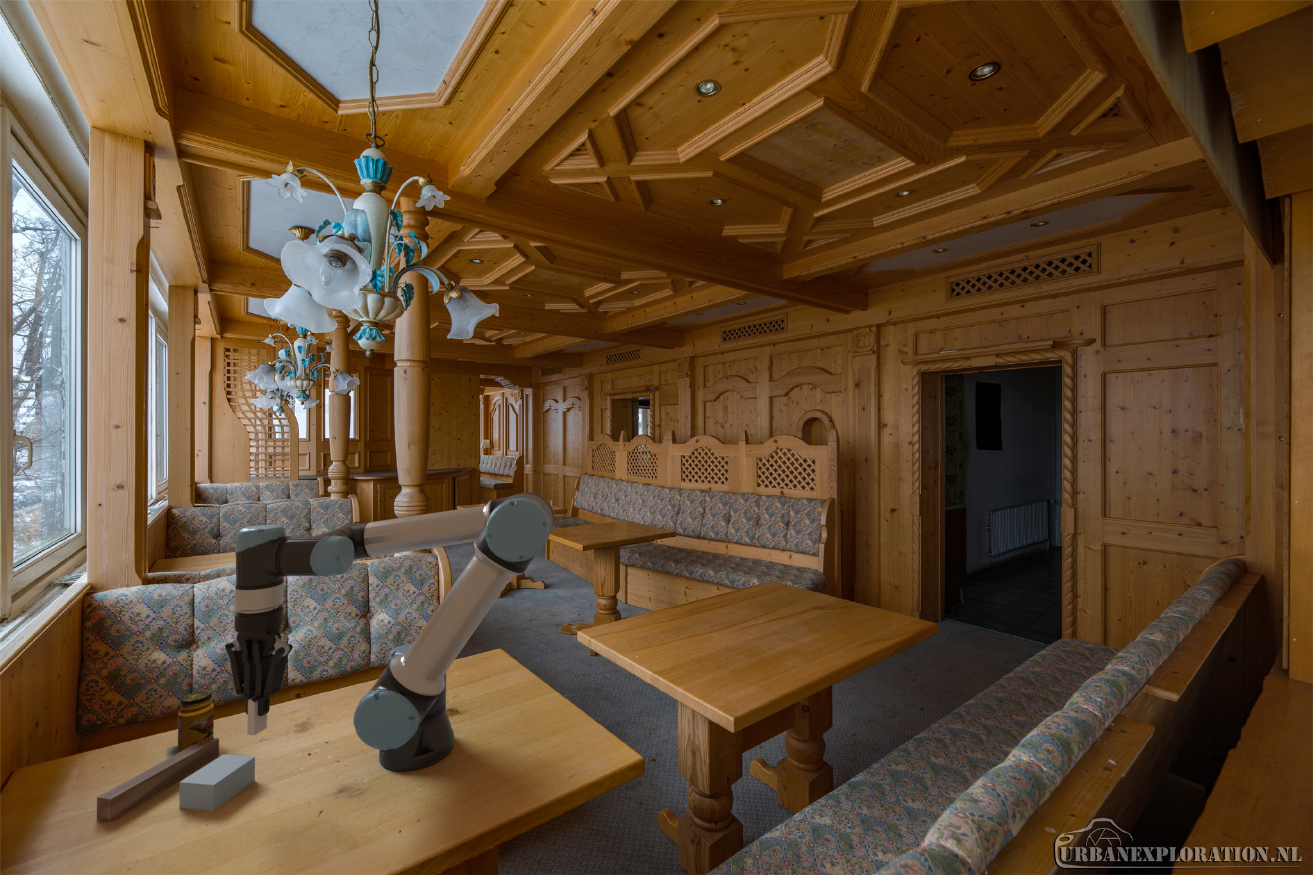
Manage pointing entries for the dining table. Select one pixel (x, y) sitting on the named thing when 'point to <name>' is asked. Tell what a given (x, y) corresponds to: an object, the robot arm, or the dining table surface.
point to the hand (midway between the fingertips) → (257, 731)
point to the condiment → (194, 721)
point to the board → (156, 779)
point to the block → (217, 782)
